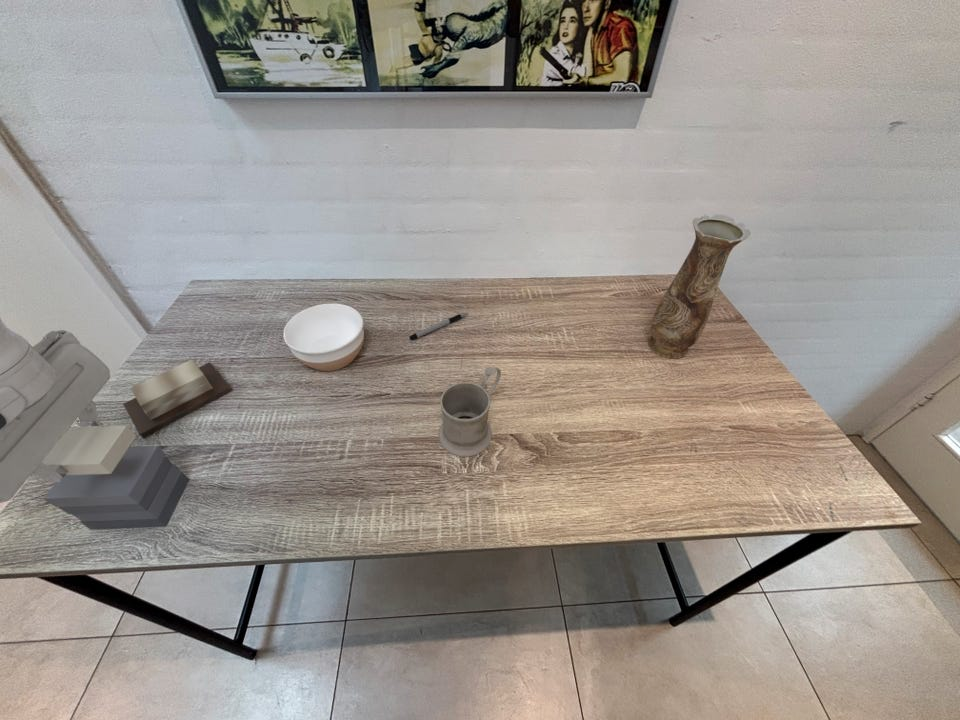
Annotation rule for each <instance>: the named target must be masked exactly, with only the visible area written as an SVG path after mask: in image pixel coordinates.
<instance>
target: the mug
mask: <svg viewBox="0 0 960 720" xmlns="http://www.w3.org/2000/svg"><path fill="white" fill-rule="evenodd" d="M484 373H485V375H484V377H483V379H482V381H481V383H480V384H477V383H473V382H466V381H463V382H457V383H454V384H452V385H450V386H449V387H446V389H445V390H444V391H443V393H442V394H441V396H440V401H439V403H440V409H441V417H442V423H441V425H440V427H439V430H438V439H439V443H440V445H441V446H442V448H443V449H444V450H445V451H446V452H448V453H449V454H452V455H454V456H456V457H461V458H462V457H464V458H469V457H474V456H477V455H478V454H481V453H483V452H484V451H485V450H486V449H487V448H488V447H489V446H490V443H491V441H492V435H493V431H492V428H491V425H490V423H489V422H488V421H489V410H490V407H491V406H490V405H491V397H490V396H491V395H492V393H493V392H494V391H495V390H496V388H497V386H498V384H499V382H500V380H501V376H502V373H501V369H500V368H499V367H494V366H487V367H486V368H485V369H484ZM495 374H496V377H495V380H494V382H493V384H492V386H490V388H489V389H488V384H487V381H488V379H489V377H490V376H493V375H495ZM487 389H488V391H487ZM460 417H469V418H460Z"/></svg>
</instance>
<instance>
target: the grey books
mask: <svg viewBox="0 0 960 720" xmlns="http://www.w3.org/2000/svg"><path fill="white" fill-rule="evenodd" d="M189 481H190V478H189V477H188V476H187V475H186V474H185V473H184V472H183V471H182V470H181V469H180V468H179V467H178V466H177V465H176V464H175V463H173V462H172V461H171V460H170V459H168V457H167V454H166V453H165V451H163V449H162V448H161V447H160V446H159V445H141V446H139V445H138V446H129V448H128V449H127V451H126V452H125V454H124V455H123V457H122V458H121V460H120V461H119V463H118V464H117V466H116V467H115V469H114V470H113V472H112V473H111V474H89V475H65V476H64V478H63V479H62V481H61V482H54V484H53V485H52V486H51V488H50V489H49V491H48V492H47V493H46V495H45V496H44V498H43V500H44V501H46V502H48V503H49V504H51V505H52V506H54V507H56V508H58V509H60V510H62V511H63V512H64V513H66V514H68V515H72V516H74V517H75V518H77V519H78V520H80V524H81V525H83V526H84V527H86V528H88V529H89V530H91V531H92V530H114V529H136V528H139V529H140V528H161V527H167V526H168V523H169V522H170V520H171V517H172V515H173V513H174V511H175V509H176V507H177V505H178V503H179V501H180V499H181V497H182V495H183V493H184V492H185V489H186V487H187V485H188V483H189Z"/></svg>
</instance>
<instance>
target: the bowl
mask: <svg viewBox="0 0 960 720" xmlns="http://www.w3.org/2000/svg"><path fill="white" fill-rule="evenodd" d="M282 336H283V340H284V342H285V344H286V345H287V346H288V348H289V349H290V351H291V354H292V355H293V356H294V357H295V358H296V359H297V361H298V362H300V363H302V364H304V366H307V367H308V368H311V369H314V370H317V371H319V372H320V371H321V372H331V371H332V372H334V371H337V370H341V369H343V368H345V367H347V366H348V365H350V364H351V363H352V362H353V361H354V360H355V359H356V357H357V355H358V354H359V353H360V351H361V349H362V347H363V344H364V341H365V331H364V320H363V316H362V315H361V314H360V312H359V311H358V310H357V309H355V308H354V307H352V306H350V305H346V304H342V303H323V304H321V303H320V304H317V305H313V306H310V307H307V308H305V309H303V310H300V311H299V312H298V313H296V314H295V315H293V316H292V317H291V318H290V319H289V320H288V322H286V324H285V325H284V329H283V332H282Z"/></svg>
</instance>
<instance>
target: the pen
mask: <svg viewBox="0 0 960 720" xmlns="http://www.w3.org/2000/svg"><path fill="white" fill-rule="evenodd" d="M467 315H468V312H460V313H458V314H456V315H454V316H452V317H449V318H447V319H445V320H442V321H440V322H438V323H436V324H434V325H431V326H429V327H426V328H423V329H421V330H420V331H417V332H414V333H412V334H411V335H409V340H410V341H414V340H415V339H419V338H420V337H423V336H425V335H427V334H430V333H432V332H434V331H436V330H439V329H441V328H442V327H445V326H447V325H450V324H452V323H454V322H456V321H459V320H461V319H463V318H465V317H466V316H467Z"/></svg>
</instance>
